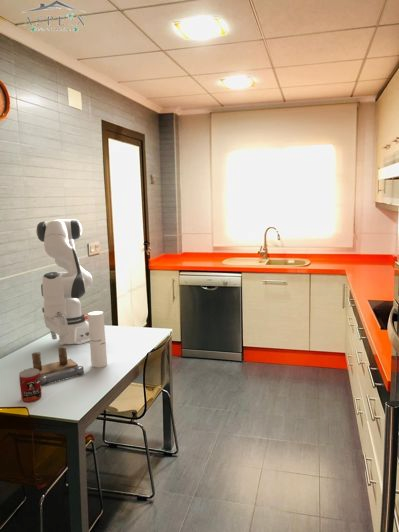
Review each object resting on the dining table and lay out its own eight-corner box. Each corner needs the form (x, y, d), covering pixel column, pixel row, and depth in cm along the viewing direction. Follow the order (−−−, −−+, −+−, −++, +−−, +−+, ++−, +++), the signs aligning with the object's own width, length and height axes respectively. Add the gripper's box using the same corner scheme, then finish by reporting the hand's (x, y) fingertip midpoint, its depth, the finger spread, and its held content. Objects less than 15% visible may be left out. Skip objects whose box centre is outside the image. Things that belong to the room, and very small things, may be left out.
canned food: (21, 404, 175) (19, 377, 173) (21, 396, 182) (18, 370, 180) (42, 400, 178) (40, 373, 176) (41, 392, 185) (38, 366, 183)
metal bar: (81, 371, 206) (81, 365, 206) (85, 374, 203) (84, 367, 202) (36, 383, 194) (35, 376, 194) (39, 386, 191) (38, 379, 190)
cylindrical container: (90, 363, 216) (86, 312, 212) (105, 360, 219) (101, 310, 215) (93, 368, 209) (89, 315, 206) (108, 365, 212) (104, 313, 208)
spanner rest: (70, 360, 220) (68, 342, 219) (77, 366, 212) (76, 347, 211) (23, 372, 208) (21, 353, 206) (29, 378, 200) (27, 359, 198)
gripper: (70, 313, 187) (73, 345, 189) (54, 305, 204) (57, 335, 206) (55, 316, 184) (58, 348, 186) (40, 307, 200) (43, 337, 202)
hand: (57, 341), depth 196 cm, fingers open, 8 cm apart
